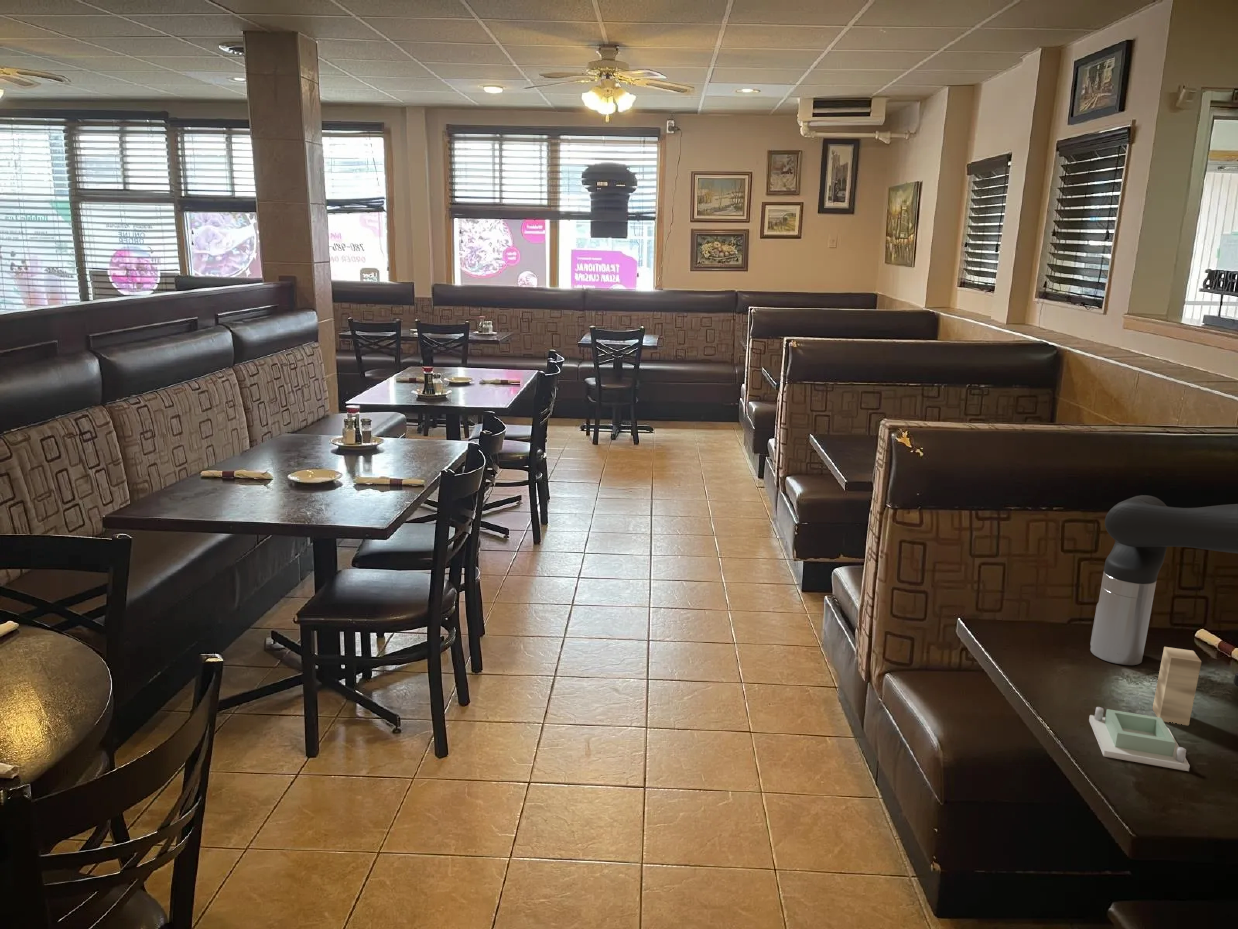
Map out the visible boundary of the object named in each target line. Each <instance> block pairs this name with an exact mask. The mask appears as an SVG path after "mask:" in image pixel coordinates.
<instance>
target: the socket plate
mask: <svg viewBox="0 0 1238 929" xmlns="http://www.w3.org/2000/svg"><path fill="white" fill-rule="evenodd" d="M1104 712H1105V716H1104ZM1088 722H1089V724H1090V726H1091V728H1092V731H1093V733H1094V736H1095V738H1096V740H1097V743H1098V746H1099V748H1100V750H1101V753H1102V756H1103V757H1105V758H1111V759H1117V760H1123V761H1128V762H1133V763H1134V762H1135V763H1139V764H1145V765H1151V766H1156V767H1163V768H1169V769H1174V770H1179V771H1185V772H1190V767H1191V766H1190V764H1189V762H1188V760H1187V758H1186V756H1187V754H1186V753H1187V749H1186V748H1185V747H1182V746H1180V745H1179V744H1178V742H1177V740H1176V739H1175V737H1174V735H1173V734H1172V732H1171V730H1170V728H1169V727H1167V726H1166V724H1165V723H1166V722H1163V720H1162V718H1160V717H1157V716H1152V715H1148V714H1147V715H1146V714H1140V713H1136V712H1135V713H1134V712H1128V711H1121V710H1117V709H1116V710H1115V709H1109V708H1106V711H1105V708H1103V707H1100V706H1096V707H1095V712H1094V715H1093V714H1090V715H1089V719H1088Z"/></svg>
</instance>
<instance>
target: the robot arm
mask: <svg viewBox="0 0 1238 929" xmlns="http://www.w3.org/2000/svg"><path fill="white" fill-rule="evenodd" d="M1104 528H1105V530H1106V532H1107V533H1108V535H1109V536H1110V537H1111V538H1112V539H1113V540H1114V544H1113V547H1112V549H1111V551H1110V552H1109V554H1108V555H1107V557H1106V559H1105V562H1104V568H1103V574H1102V579H1101V586H1100V592H1099V597H1098V602H1097V603H1096V606H1095V607H1096V608H1095V615H1094V620H1093V626H1092V630H1091V637H1090V644H1089V645H1090V652H1091V653H1092V655H1094V656H1095V657H1097V658H1098V659H1101V660H1103V661H1106V662H1108V663H1112V664H1116V665H1123V666H1135V665H1139V664H1141V663H1142V662H1143V656H1144V651H1145V646H1146V641H1147V635H1148V630H1149V624H1150V619H1151V614H1152V608H1153V601H1154V596H1155V590H1156V586H1157V585H1156V584H1157V580H1158V575H1159V572H1160V570H1161V568H1162V567H1163V564H1164V561H1165V558H1166V554H1167V549H1168V548H1167V547H1171V548H1172V547H1173V548H1174V547H1176V548H1177V547H1178V548H1194V549H1201V550H1206V551H1215V552H1223V553H1231V554H1238V503H1233V504H1231V503H1230V504H1220V505H1219V504H1218V505H1211V506H1202V507H1201V506H1200V507H1174V506H1168V505H1167V504H1165V502H1164V501H1162V500H1161V499H1159V498H1158V497H1156V496H1152V495H1146V494H1144V495H1143V494H1140V495H1135V496H1133V497H1129V498H1127V499H1125V500H1123V501H1120V502H1118V503H1117V504H1114V506H1113V507H1112V508H1110V509H1109V511H1108V512H1107V514H1106V515H1105V518H1104ZM1233 684H1234V685H1235V686H1236V687H1238V672H1237V673H1235V674H1234V678H1233Z"/></svg>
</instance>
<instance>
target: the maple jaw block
mask: <svg viewBox="0 0 1238 929" xmlns="http://www.w3.org/2000/svg"><path fill="white" fill-rule="evenodd" d="M1159 666H1160V668H1159V673H1158V676H1157V681H1156V688H1155V693H1154V697H1153V698H1154V699H1153V704H1152V710H1153V712H1154V714H1155V717H1160V718H1162V720H1163V722H1164V723H1169V722H1171V724H1175V723H1177V725H1181V724H1182V725H1183V726H1189V725H1190V720H1191V716H1192V711H1193V706H1194V702H1195V697H1196V696H1195V695H1196V690H1197V685H1198V682H1199V676H1200V671H1201V666H1202V660H1201V659H1200V658H1199V656H1198V655H1197V654H1196V652H1195V651H1194V650H1192V649H1191V650H1190V649H1183V648H1175V647H1168V646H1164V647H1163V652H1162V656H1161V662H1160V665H1159ZM1172 722H1173V723H1172ZM1182 725H1181V726H1182Z"/></svg>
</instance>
